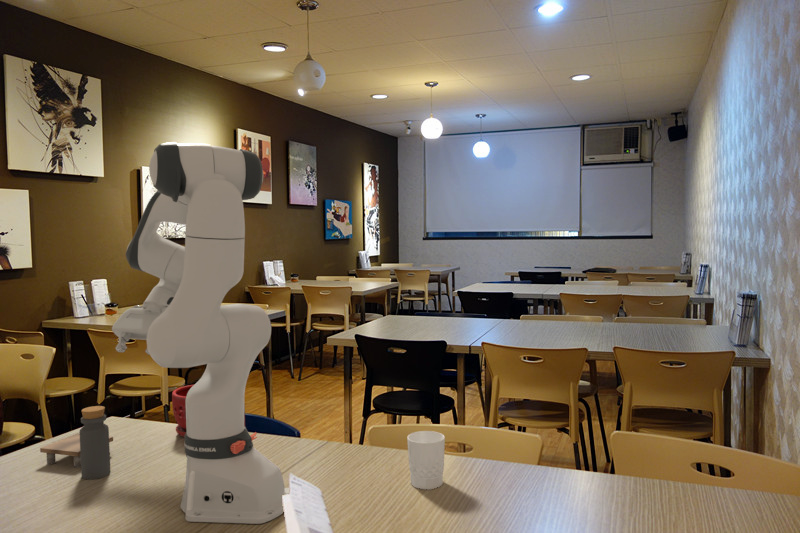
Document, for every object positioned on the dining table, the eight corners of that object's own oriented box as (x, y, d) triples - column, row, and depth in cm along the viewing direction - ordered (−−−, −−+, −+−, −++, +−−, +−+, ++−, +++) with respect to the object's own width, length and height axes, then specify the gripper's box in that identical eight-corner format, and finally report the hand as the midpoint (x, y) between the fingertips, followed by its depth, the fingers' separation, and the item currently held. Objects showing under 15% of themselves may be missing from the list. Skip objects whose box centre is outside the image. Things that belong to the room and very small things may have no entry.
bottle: (102, 479, 135) (99, 412, 134) (76, 479, 135) (73, 412, 134) (115, 469, 141) (112, 404, 140) (89, 469, 141) (87, 405, 140)
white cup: (453, 482, 130) (452, 435, 129) (428, 494, 124) (428, 445, 123) (424, 473, 135) (424, 428, 135) (400, 484, 129) (399, 437, 129)
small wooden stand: (113, 452, 152) (113, 436, 151) (78, 469, 141) (77, 452, 141) (78, 449, 155) (77, 433, 155) (41, 464, 144) (40, 448, 144)
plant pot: (162, 438, 162) (160, 393, 162) (196, 423, 174) (195, 381, 174) (202, 443, 157) (200, 397, 157) (234, 428, 169) (233, 385, 169)
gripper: (124, 298, 158) (94, 342, 150) (187, 300, 151) (159, 347, 142) (138, 312, 163) (109, 356, 154) (200, 316, 155) (173, 362, 147)
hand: (133, 352), depth 148 cm, fingers open, 8 cm apart
